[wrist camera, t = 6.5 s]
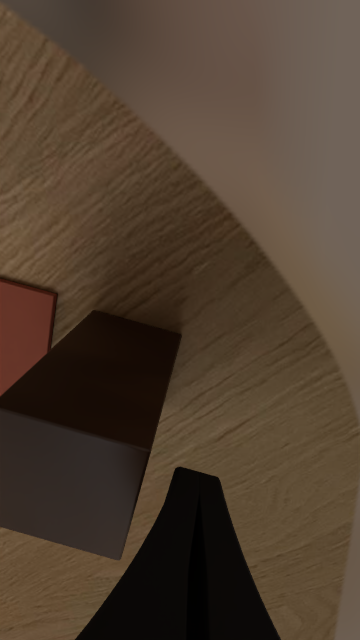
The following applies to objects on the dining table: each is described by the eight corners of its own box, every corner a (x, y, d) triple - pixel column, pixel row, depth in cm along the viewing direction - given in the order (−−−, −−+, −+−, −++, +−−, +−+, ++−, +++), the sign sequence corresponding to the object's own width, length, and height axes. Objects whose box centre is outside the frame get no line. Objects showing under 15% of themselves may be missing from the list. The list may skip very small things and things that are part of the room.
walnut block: (182, 334, 16) (150, 451, 9) (161, 409, 18) (120, 562, 10) (93, 309, 16) (-12, 405, 9) (80, 386, 18) (-19, 522, 11)
